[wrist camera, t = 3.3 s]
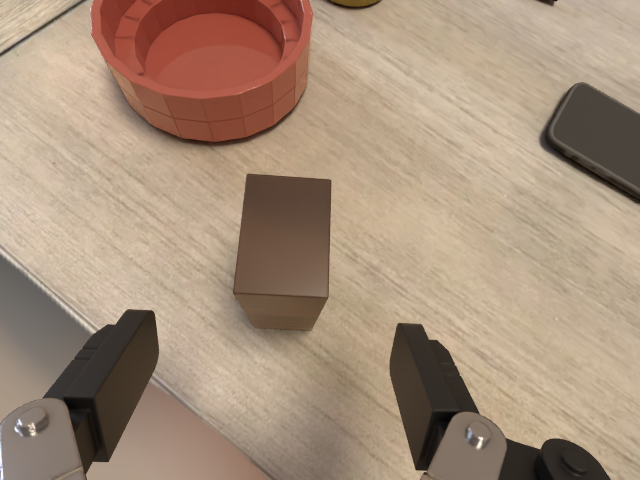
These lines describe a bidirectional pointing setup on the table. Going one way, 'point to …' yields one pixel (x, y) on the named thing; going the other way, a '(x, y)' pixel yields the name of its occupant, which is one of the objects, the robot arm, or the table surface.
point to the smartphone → (599, 136)
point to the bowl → (207, 61)
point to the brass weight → (354, 2)
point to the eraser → (284, 251)
